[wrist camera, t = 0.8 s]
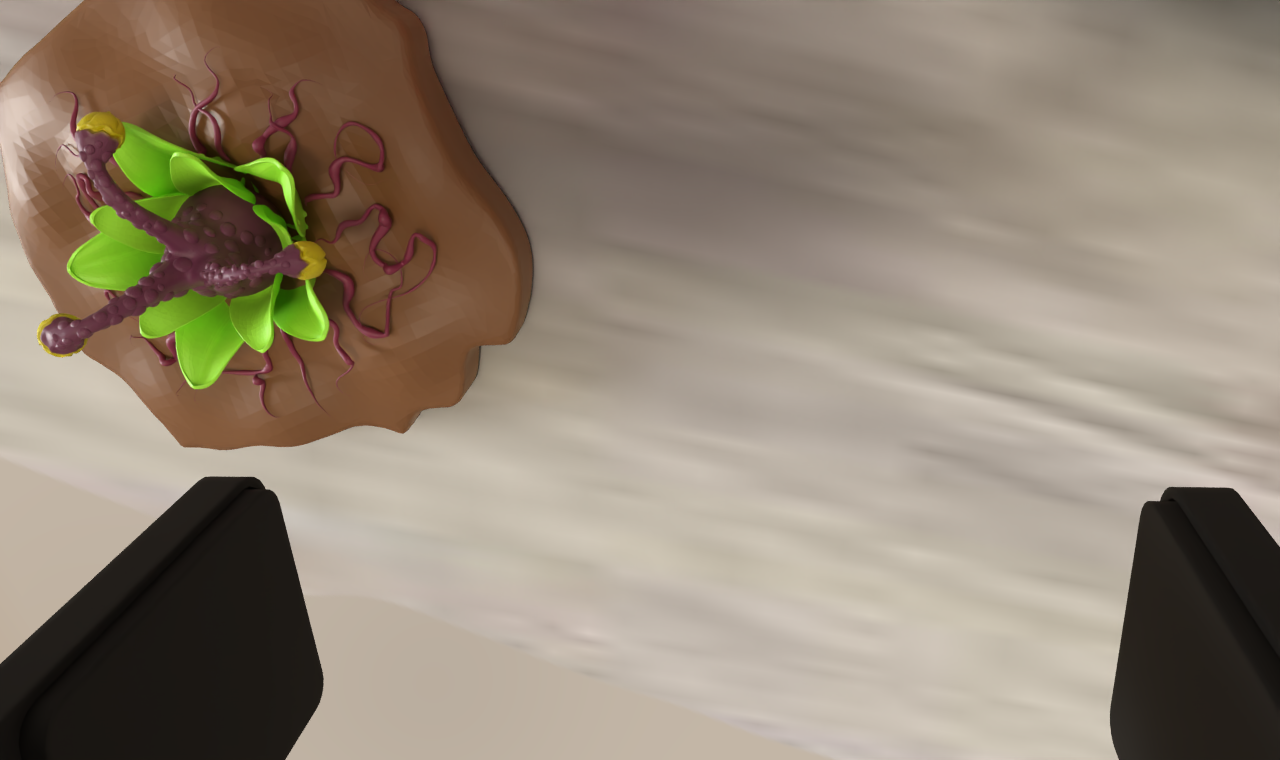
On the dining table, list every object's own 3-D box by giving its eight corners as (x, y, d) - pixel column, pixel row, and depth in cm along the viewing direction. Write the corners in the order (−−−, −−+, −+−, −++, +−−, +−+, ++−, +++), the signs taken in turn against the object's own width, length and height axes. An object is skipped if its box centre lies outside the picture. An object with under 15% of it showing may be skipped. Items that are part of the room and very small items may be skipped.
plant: (-55, 77, 40) (-344, 129, 30) (344, -150, 34) (155, -179, 24) (215, 485, 46) (53, 641, 36) (586, 352, 41) (517, 492, 31)
